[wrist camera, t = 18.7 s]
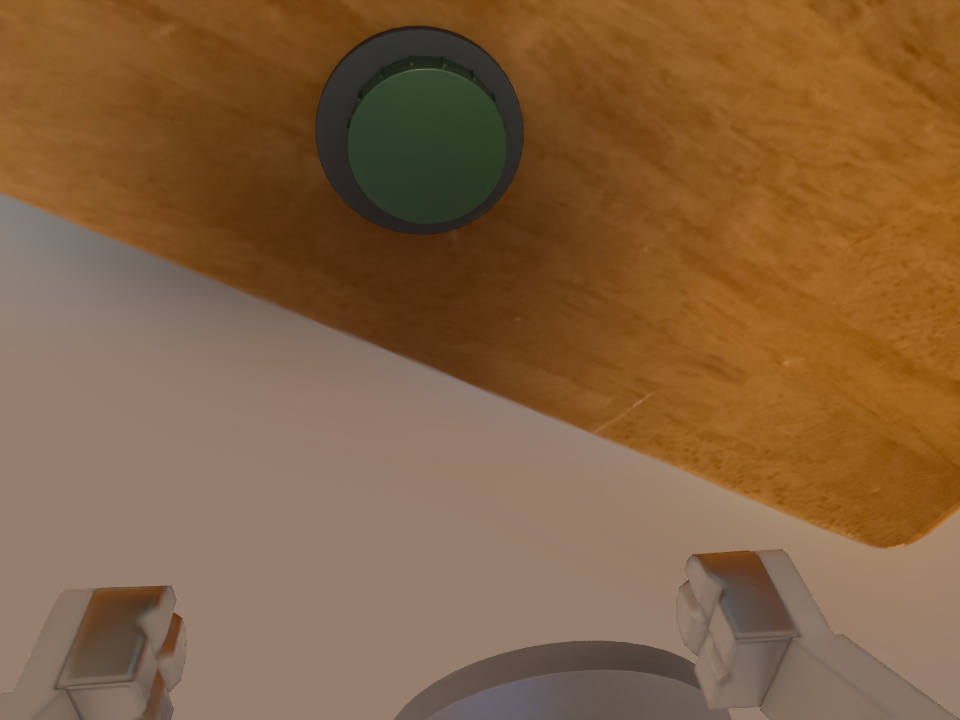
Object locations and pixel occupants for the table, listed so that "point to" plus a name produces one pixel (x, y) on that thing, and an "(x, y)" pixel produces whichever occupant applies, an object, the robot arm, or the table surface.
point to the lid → (426, 140)
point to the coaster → (367, 64)
